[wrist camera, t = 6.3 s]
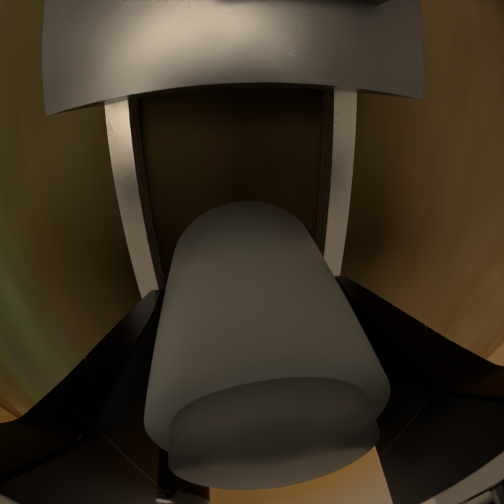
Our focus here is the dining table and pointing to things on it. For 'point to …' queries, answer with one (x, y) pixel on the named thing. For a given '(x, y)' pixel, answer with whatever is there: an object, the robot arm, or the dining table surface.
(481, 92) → the dining table surface
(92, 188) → the dining table surface
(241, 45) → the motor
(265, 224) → the white cylinder
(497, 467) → the robot arm
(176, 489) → the supplement bottle
